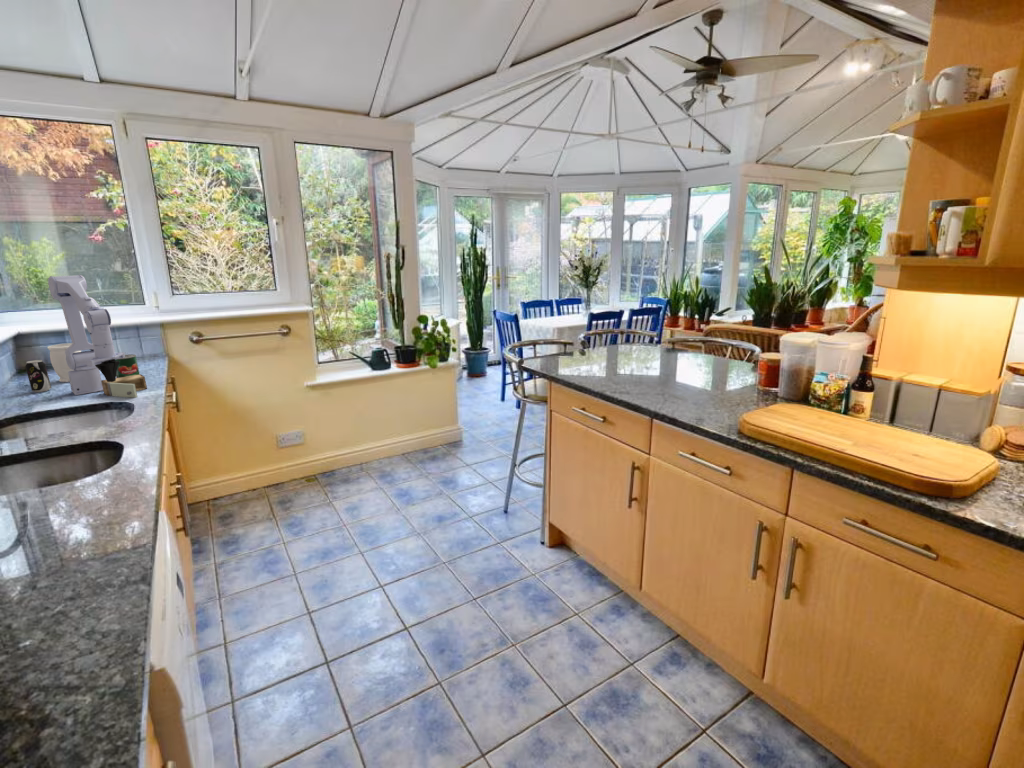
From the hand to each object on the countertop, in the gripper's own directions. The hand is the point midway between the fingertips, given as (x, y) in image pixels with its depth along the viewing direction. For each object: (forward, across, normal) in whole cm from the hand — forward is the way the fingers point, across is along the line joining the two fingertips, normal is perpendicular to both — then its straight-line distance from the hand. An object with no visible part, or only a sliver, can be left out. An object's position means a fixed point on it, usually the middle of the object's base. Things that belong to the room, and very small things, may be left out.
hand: (111, 381), depth 183 cm
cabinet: (+7, +13, +6) cm, 16 cm away
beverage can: (+7, +13, +40) cm, 43 cm away
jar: (+7, +30, +43) cm, 53 cm away
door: (+7, +5, +2) cm, 9 cm away
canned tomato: (+7, +26, +15) cm, 31 cm away
